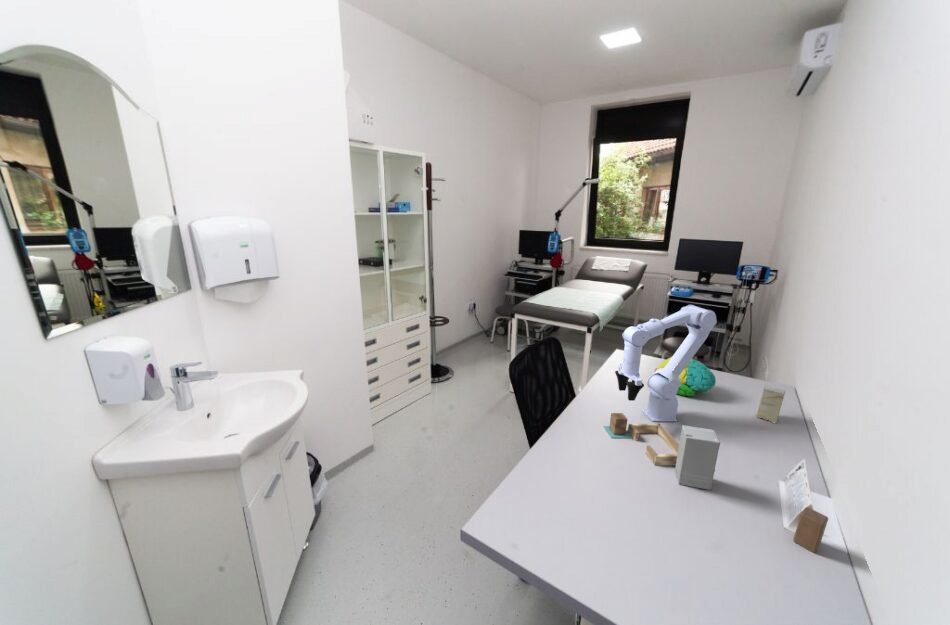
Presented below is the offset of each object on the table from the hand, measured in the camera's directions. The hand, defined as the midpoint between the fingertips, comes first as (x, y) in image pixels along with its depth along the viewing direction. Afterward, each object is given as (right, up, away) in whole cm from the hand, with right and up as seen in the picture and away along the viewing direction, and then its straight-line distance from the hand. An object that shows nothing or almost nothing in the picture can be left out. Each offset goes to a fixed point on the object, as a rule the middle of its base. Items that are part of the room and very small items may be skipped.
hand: (626, 395), depth 133 cm
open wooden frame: (+4, -14, -14) cm, 20 cm away
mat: (-6, -12, -6) cm, 14 cm away
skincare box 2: (+56, -10, +5) cm, 57 cm away
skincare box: (+6, -18, -29) cm, 35 cm away
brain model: (+36, -4, +28) cm, 45 cm away
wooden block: (+21, -24, -49) cm, 58 cm away
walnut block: (-6, -11, -6) cm, 14 cm away
